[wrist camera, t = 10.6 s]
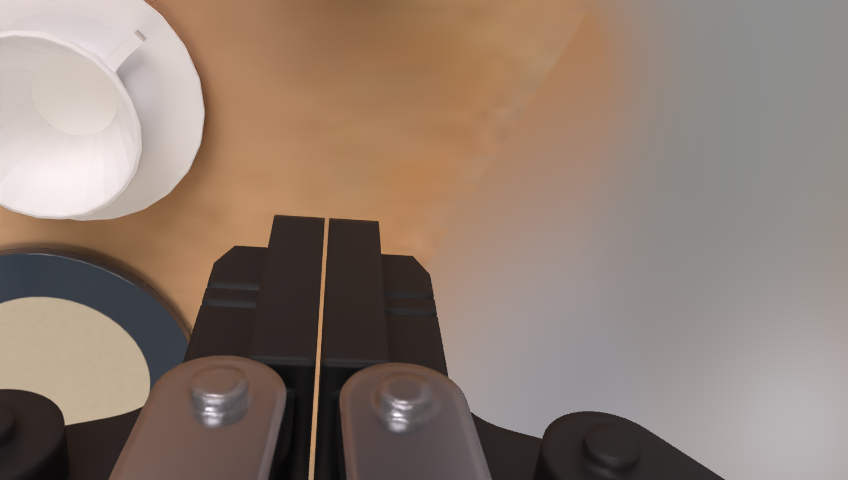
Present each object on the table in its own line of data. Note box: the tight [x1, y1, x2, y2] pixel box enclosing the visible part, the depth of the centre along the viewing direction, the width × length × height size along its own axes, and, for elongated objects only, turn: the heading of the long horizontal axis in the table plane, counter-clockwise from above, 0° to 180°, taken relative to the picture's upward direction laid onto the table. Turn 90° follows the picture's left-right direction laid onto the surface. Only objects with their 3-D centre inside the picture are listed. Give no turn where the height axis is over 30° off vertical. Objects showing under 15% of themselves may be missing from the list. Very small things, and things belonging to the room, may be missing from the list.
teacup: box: [0, 0, 205, 221], centre depth 35 cm, size 12×12×5 cm
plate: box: [0, 248, 190, 425], centre depth 43 cm, size 15×15×1 cm
